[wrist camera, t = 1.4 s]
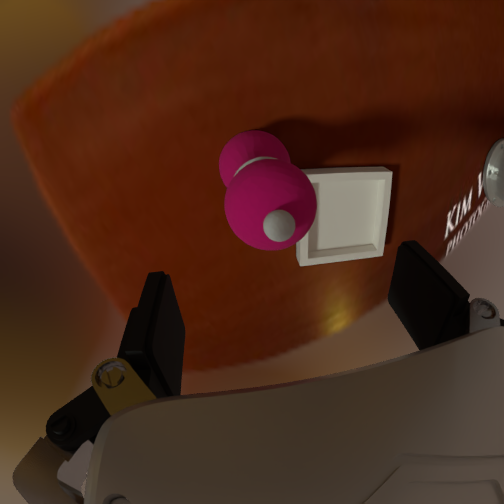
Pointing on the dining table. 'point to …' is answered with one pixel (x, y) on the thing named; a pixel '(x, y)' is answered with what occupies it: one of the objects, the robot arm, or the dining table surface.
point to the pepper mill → (265, 192)
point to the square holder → (347, 214)
